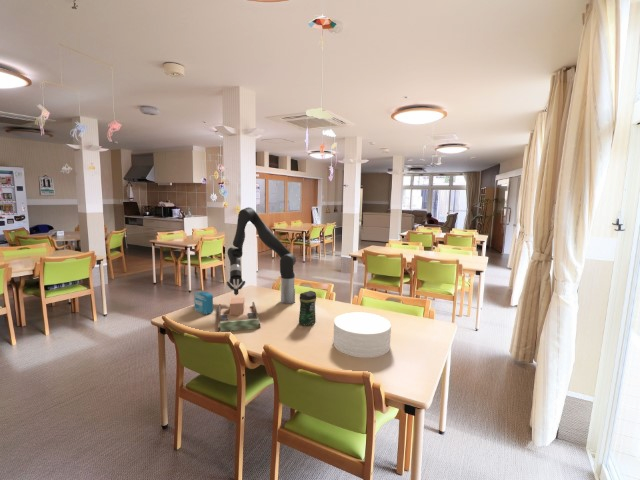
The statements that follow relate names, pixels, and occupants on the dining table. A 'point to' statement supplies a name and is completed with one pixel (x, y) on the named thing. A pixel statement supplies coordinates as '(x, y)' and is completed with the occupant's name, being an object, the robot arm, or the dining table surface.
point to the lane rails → (239, 322)
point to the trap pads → (250, 315)
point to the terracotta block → (237, 305)
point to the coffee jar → (307, 308)
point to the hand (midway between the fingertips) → (236, 294)
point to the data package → (203, 302)
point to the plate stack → (362, 334)
